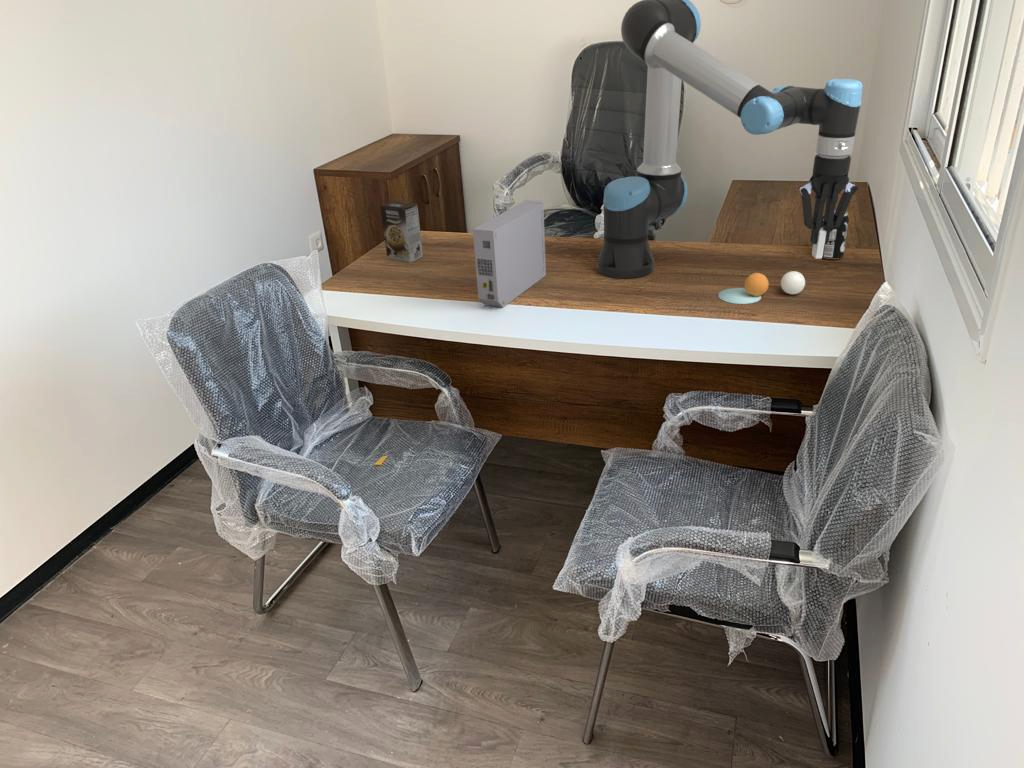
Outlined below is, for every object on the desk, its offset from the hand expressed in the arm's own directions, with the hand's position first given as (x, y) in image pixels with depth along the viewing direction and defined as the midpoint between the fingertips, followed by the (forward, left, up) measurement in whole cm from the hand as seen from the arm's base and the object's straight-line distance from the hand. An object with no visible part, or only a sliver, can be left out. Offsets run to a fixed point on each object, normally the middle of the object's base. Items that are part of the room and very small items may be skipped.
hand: (816, 256), depth 179 cm
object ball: (-14, 0, -6) cm, 15 cm away
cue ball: (-5, -1, -6) cm, 8 cm away
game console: (-72, +13, -9) cm, 73 cm away
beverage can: (+13, +24, -9) cm, 29 cm away
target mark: (-18, 0, -9) cm, 20 cm away
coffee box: (-104, +45, -9) cm, 113 cm away
